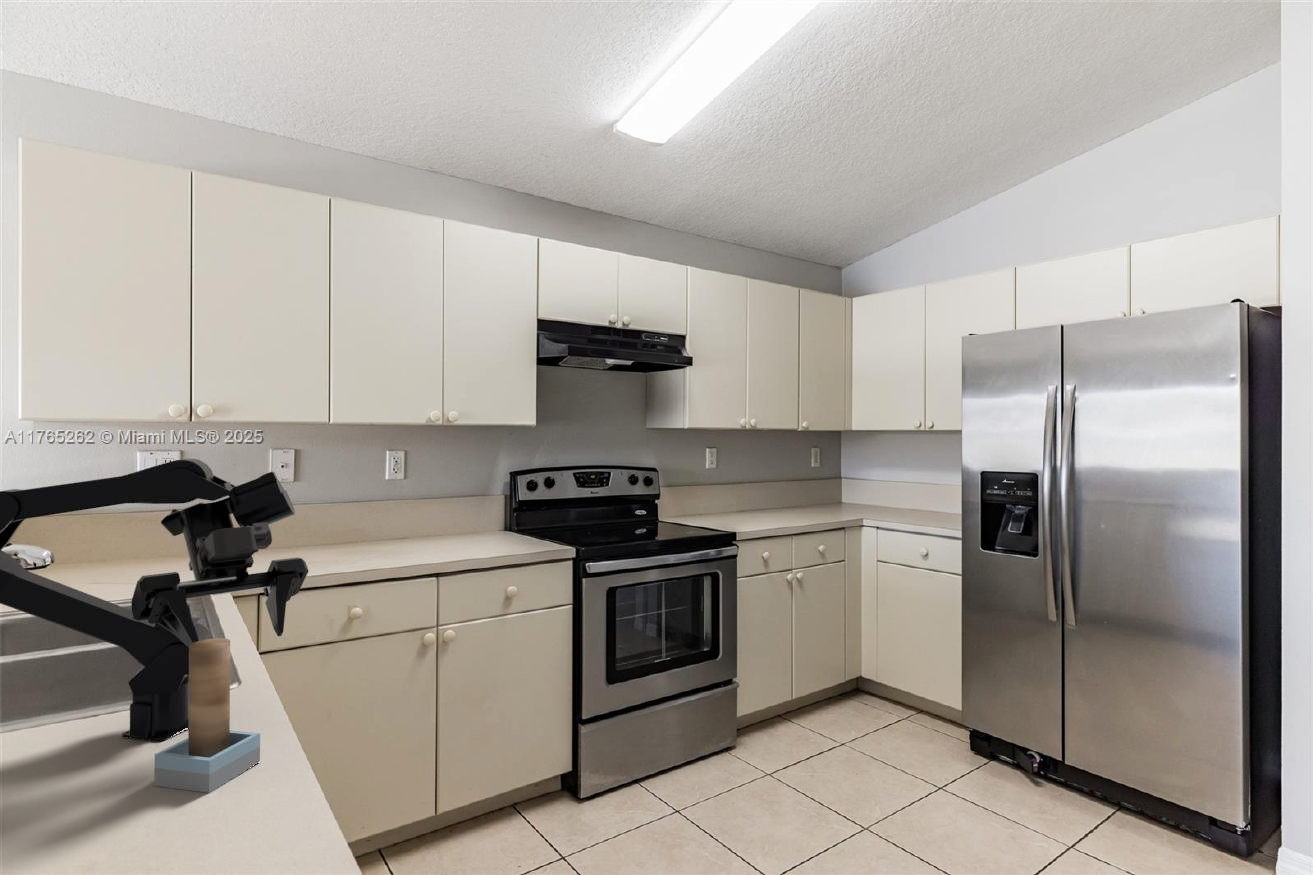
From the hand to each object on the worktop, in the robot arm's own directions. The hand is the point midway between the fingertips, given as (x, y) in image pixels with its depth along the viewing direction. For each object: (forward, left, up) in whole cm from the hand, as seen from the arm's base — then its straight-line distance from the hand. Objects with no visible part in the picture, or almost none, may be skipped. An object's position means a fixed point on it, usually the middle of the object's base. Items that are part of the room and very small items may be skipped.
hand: (240, 642), depth 85 cm
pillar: (+5, +1, -12) cm, 13 cm away
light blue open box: (+5, +1, -14) cm, 15 cm away
